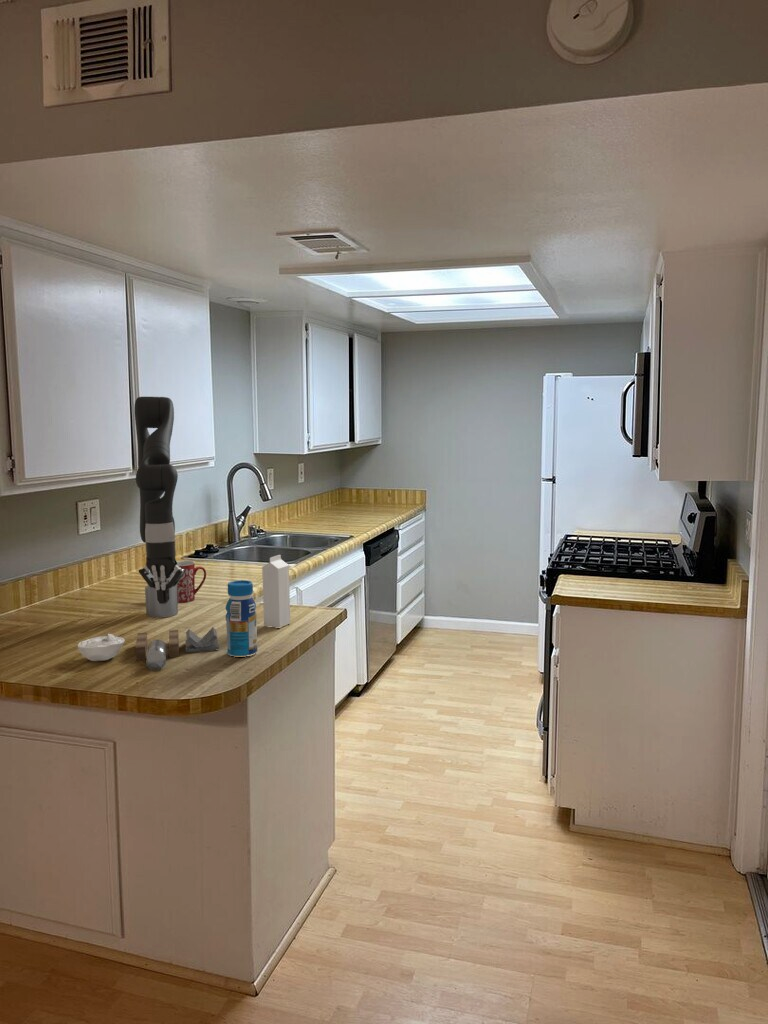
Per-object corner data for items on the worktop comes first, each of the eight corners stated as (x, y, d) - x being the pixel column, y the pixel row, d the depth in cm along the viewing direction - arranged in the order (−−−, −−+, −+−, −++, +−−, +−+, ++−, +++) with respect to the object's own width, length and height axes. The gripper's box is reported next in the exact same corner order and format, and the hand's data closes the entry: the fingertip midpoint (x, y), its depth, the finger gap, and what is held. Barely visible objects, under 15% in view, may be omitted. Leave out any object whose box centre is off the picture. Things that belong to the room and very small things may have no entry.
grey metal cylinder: (149, 657, 208) (147, 640, 208) (167, 655, 209) (165, 638, 209) (147, 672, 197) (145, 654, 196) (166, 669, 198) (164, 651, 197)
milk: (263, 626, 236) (261, 557, 233) (274, 621, 241) (272, 553, 238) (280, 629, 233) (277, 558, 230) (291, 624, 239) (288, 554, 236)
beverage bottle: (221, 653, 211) (219, 582, 208) (249, 647, 216) (246, 577, 213) (235, 660, 204) (232, 587, 201) (263, 654, 209) (261, 583, 206)
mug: (169, 604, 265) (167, 566, 263) (171, 598, 273) (170, 561, 272) (206, 602, 267) (205, 564, 265) (207, 596, 276) (206, 559, 274)
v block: (185, 643, 220) (184, 628, 219) (217, 640, 222) (216, 626, 221) (186, 652, 211) (185, 637, 210) (219, 650, 213) (218, 634, 213)
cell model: (77, 656, 209) (76, 632, 208) (123, 651, 213) (122, 627, 212) (79, 668, 199) (77, 643, 198) (127, 661, 204) (125, 637, 203)
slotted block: (138, 645, 219) (137, 633, 218) (178, 641, 221) (178, 629, 221) (136, 660, 205) (135, 647, 205) (179, 656, 208) (178, 644, 208)
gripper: (130, 541, 201) (133, 605, 203) (176, 541, 198) (179, 607, 200) (144, 537, 208) (148, 599, 210) (189, 537, 206) (192, 600, 207)
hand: (163, 603), depth 205 cm, fingers closed
